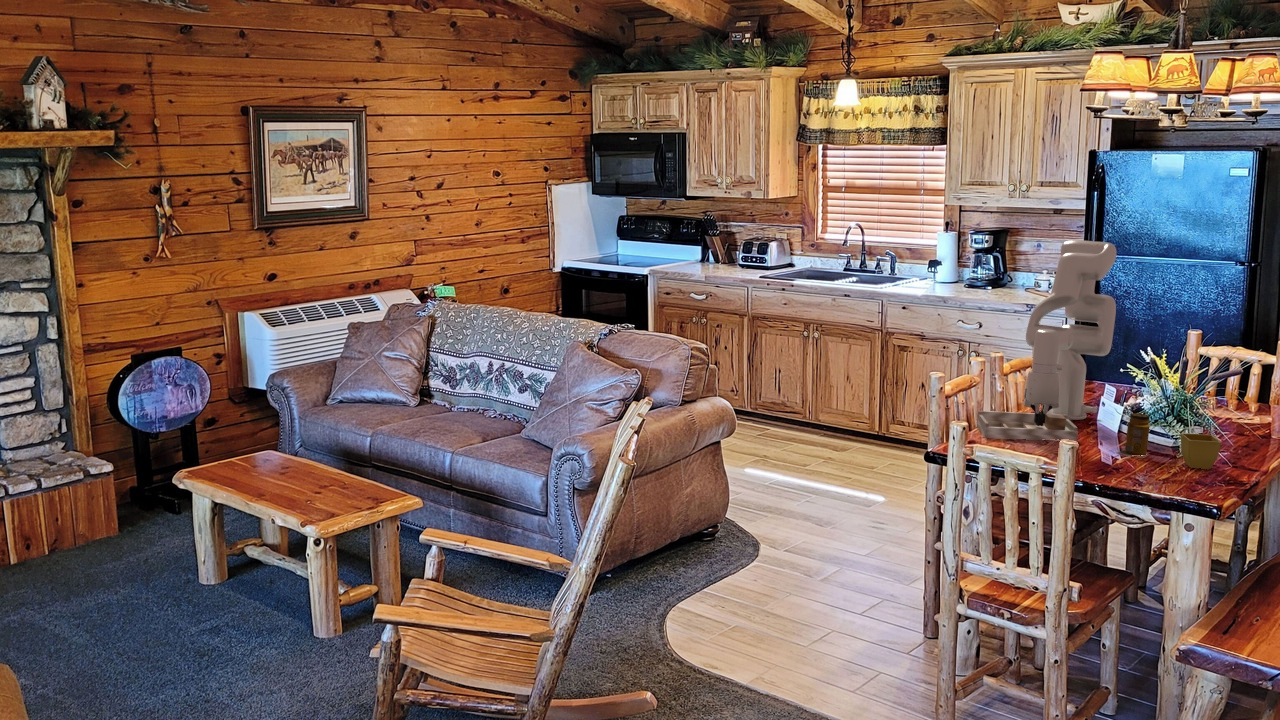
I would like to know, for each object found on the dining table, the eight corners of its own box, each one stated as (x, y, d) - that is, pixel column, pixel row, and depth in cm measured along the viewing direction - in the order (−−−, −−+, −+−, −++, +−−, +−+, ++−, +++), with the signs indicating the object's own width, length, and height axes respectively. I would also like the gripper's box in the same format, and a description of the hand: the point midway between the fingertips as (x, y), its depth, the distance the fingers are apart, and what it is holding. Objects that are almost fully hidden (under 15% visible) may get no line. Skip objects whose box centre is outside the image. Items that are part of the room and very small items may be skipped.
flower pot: (1176, 462, 331) (1180, 432, 330) (1208, 464, 330) (1212, 434, 328) (1185, 470, 323) (1189, 440, 321) (1218, 472, 321) (1222, 442, 320)
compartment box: (1065, 431, 364) (1066, 414, 363) (1076, 442, 351) (1078, 425, 350) (976, 427, 367) (978, 410, 366) (985, 437, 354) (986, 421, 352)
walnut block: (1061, 427, 359) (1062, 414, 359) (1064, 430, 354) (1066, 418, 354) (1044, 426, 360) (1045, 414, 359) (1048, 430, 355) (1049, 417, 354)
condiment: (1151, 453, 340) (1156, 415, 338) (1140, 458, 334) (1144, 419, 332) (1127, 448, 345) (1131, 410, 343) (1115, 453, 339) (1119, 414, 337)
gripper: (1066, 367, 357) (1060, 423, 361) (1017, 365, 359) (1012, 421, 362) (1072, 372, 350) (1066, 429, 353) (1022, 369, 351) (1017, 426, 355)
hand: (1039, 424), depth 358 cm, fingers closed
